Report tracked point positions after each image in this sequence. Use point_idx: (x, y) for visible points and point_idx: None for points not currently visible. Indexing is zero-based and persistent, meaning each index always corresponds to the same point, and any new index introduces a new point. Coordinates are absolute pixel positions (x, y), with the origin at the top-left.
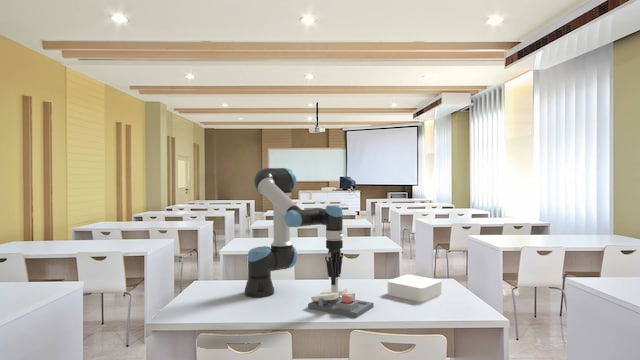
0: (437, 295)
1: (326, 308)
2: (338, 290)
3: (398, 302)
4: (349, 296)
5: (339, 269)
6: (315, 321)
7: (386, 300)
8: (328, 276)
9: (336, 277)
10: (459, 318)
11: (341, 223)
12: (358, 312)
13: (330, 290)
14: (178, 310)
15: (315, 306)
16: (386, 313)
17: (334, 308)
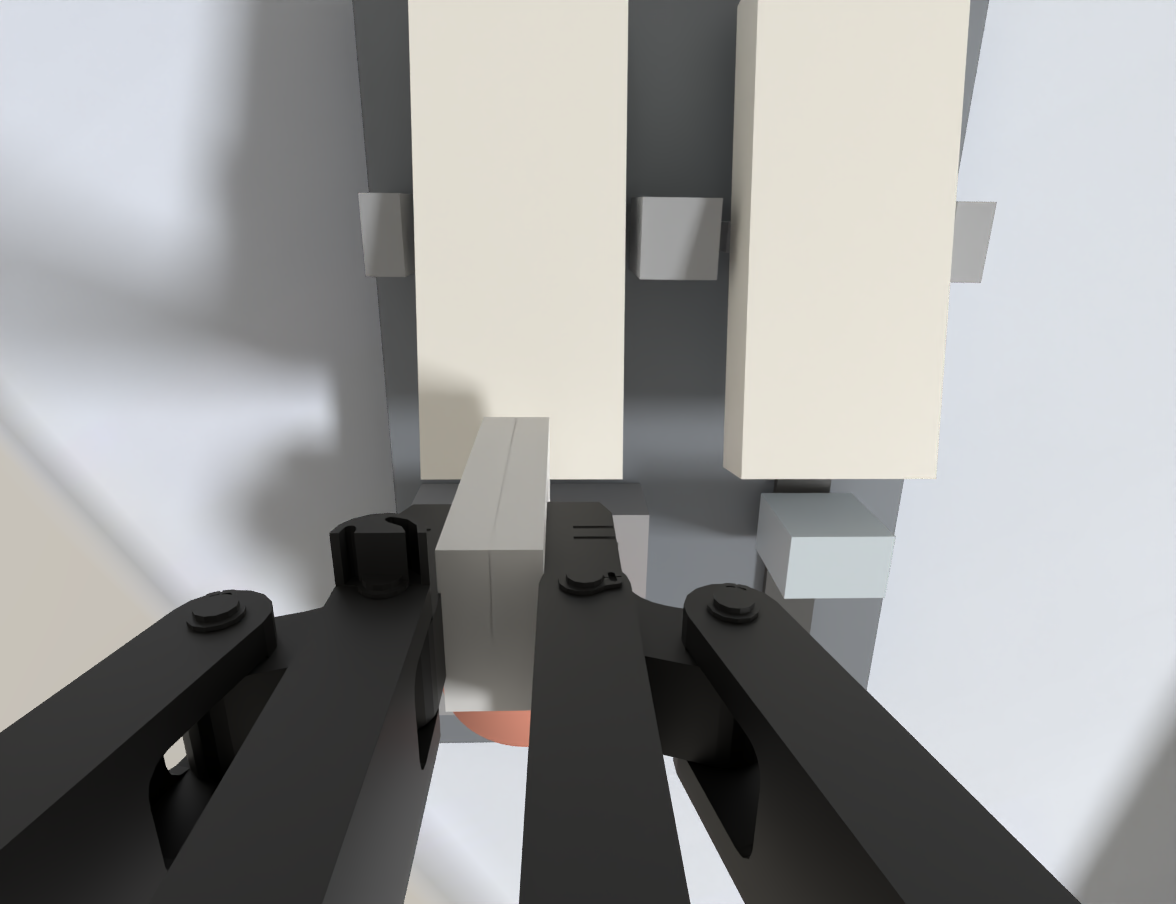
0: None
1: (385, 345)
2: (826, 362)
3: (1091, 825)
4: (491, 729)
5: (732, 869)
6: (14, 406)
7: (1129, 715)
8: (197, 602)
9: (494, 690)
10: None
11: None
12: (459, 738)
13: (904, 132)
14: None
15: (369, 142)
16: (699, 858)
17: (404, 466)
